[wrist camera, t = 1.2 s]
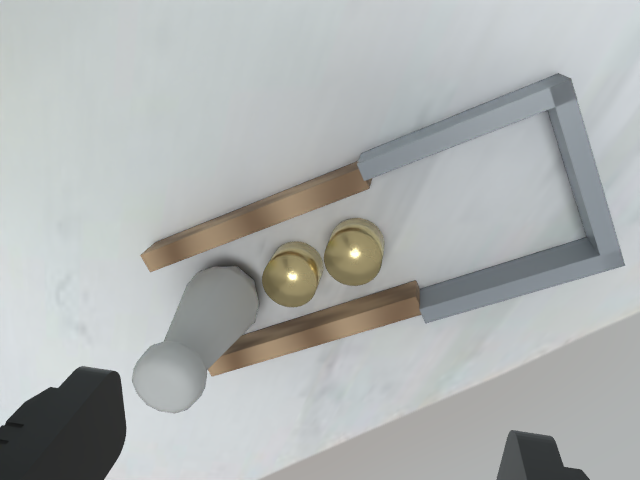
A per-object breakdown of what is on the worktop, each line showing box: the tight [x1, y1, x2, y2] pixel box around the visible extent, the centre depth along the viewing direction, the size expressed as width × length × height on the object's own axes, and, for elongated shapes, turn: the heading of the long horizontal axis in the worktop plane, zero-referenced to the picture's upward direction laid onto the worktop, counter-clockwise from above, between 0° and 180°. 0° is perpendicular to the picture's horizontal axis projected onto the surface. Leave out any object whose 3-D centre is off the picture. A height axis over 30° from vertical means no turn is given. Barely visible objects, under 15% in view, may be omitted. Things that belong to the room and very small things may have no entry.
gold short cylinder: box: [262, 242, 323, 307], centre depth 40 cm, size 4×4×3 cm
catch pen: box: [357, 73, 625, 323], centre depth 35 cm, size 13×12×3 cm
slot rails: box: [140, 161, 422, 376], centre depth 40 cm, size 18×12×2 cm, turn 114°
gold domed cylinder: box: [324, 218, 384, 286], centre depth 38 cm, size 4×4×3 cm
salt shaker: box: [132, 266, 259, 413], centre depth 37 cm, size 6×6×13 cm
